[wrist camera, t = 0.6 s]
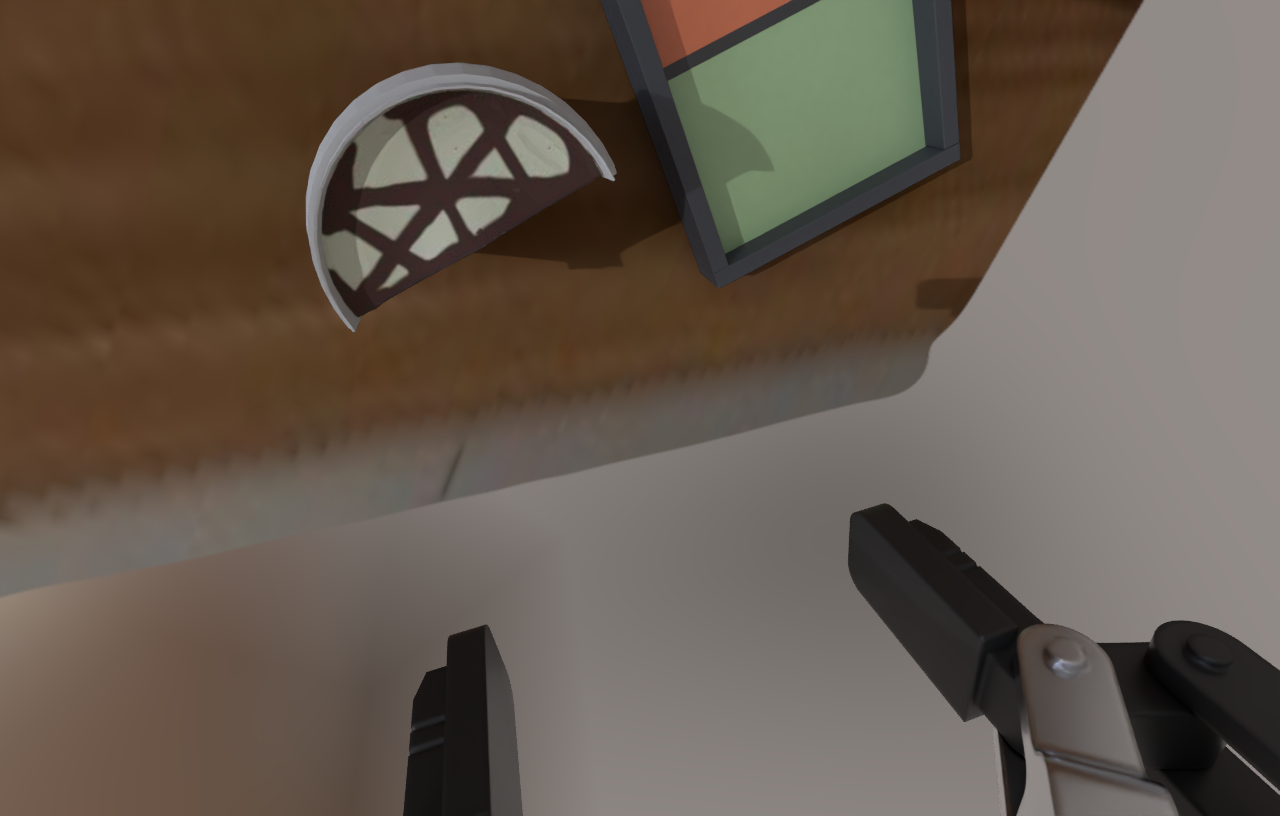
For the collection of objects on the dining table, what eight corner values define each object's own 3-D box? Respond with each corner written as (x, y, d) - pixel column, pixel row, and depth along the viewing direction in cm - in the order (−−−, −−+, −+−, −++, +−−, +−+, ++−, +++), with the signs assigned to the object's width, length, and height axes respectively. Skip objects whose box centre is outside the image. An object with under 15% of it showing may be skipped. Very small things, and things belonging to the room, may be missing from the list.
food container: (509, 5, 26) (544, -14, 18) (574, 138, 30) (628, 172, 22) (272, 143, 26) (200, 186, 18) (365, 259, 30) (341, 339, 22)
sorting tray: (524, -204, 23) (534, -232, 21) (879, -387, 23) (927, -434, 21) (700, 273, 36) (719, 289, 33) (927, 152, 36) (961, 159, 34)
